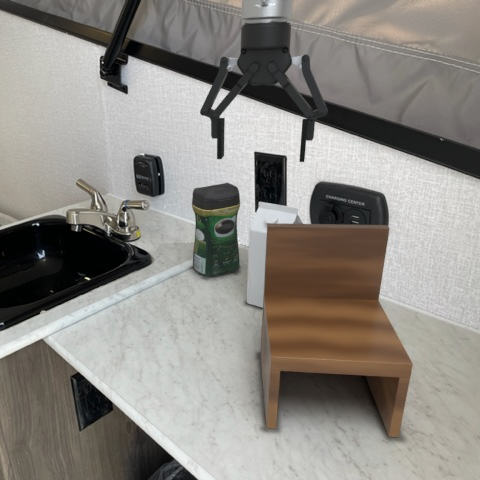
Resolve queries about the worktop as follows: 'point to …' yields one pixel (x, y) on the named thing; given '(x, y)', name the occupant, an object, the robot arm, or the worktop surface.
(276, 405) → the wooden toy chair
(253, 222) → the milk carton
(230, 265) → the coffee jar
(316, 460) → the worktop surface
